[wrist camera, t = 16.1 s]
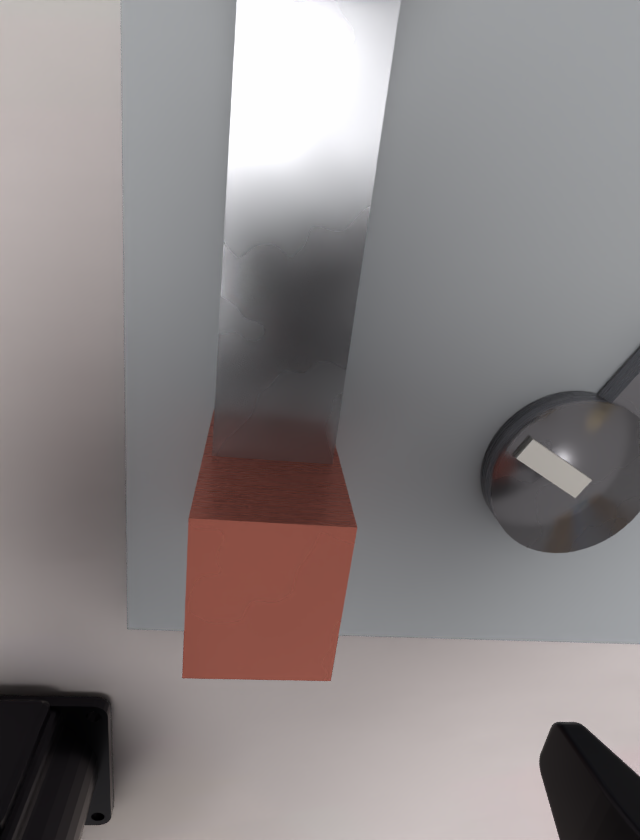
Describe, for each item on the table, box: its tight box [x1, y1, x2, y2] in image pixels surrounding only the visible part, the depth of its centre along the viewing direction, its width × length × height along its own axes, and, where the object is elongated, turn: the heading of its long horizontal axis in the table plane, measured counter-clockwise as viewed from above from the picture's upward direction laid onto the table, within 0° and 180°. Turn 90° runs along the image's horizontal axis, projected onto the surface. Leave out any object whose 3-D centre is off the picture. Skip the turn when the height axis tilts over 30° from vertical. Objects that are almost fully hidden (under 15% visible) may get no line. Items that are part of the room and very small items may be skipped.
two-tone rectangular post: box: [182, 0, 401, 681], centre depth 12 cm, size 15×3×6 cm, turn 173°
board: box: [121, 0, 640, 644], centre depth 15 cm, size 26×24×1 cm
